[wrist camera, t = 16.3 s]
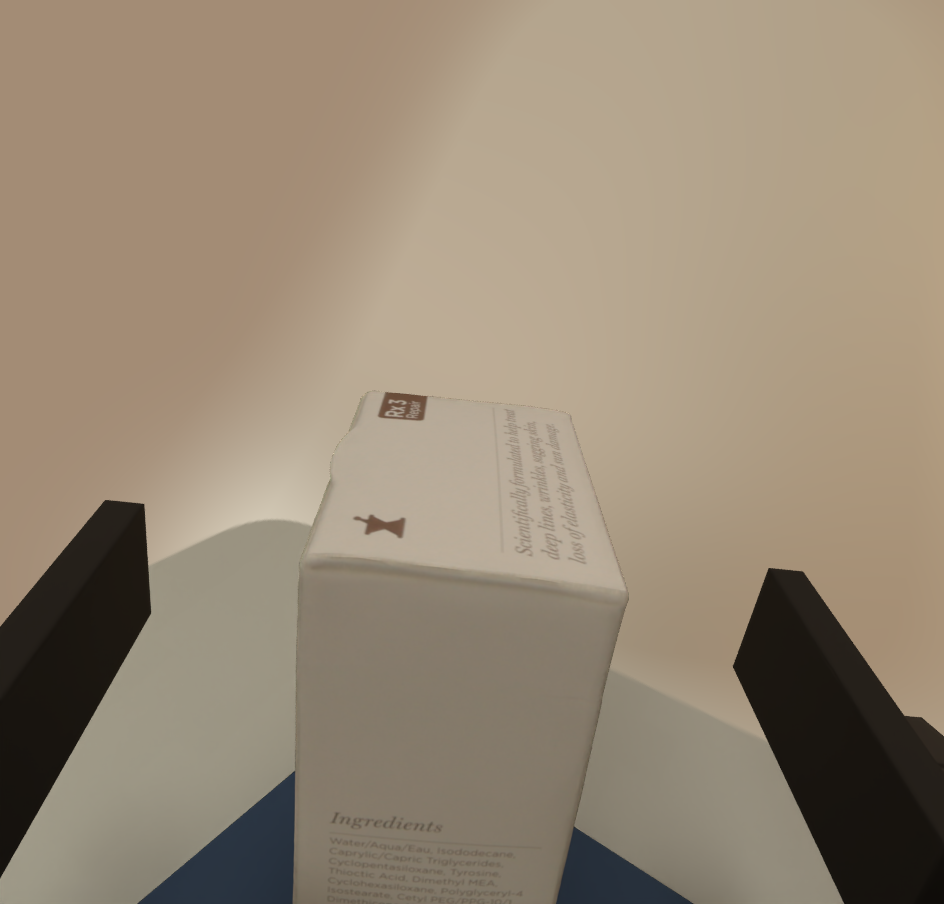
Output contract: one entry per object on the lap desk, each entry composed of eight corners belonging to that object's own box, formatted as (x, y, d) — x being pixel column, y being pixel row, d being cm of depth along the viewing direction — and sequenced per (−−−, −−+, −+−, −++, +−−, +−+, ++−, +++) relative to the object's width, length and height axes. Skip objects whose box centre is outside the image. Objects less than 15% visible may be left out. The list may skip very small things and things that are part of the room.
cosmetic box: (513, 1127, 14) (669, 605, 9) (271, 1111, 14) (288, 564, 9) (501, 835, 20) (594, 405, 15) (328, 819, 20) (359, 377, 14)
